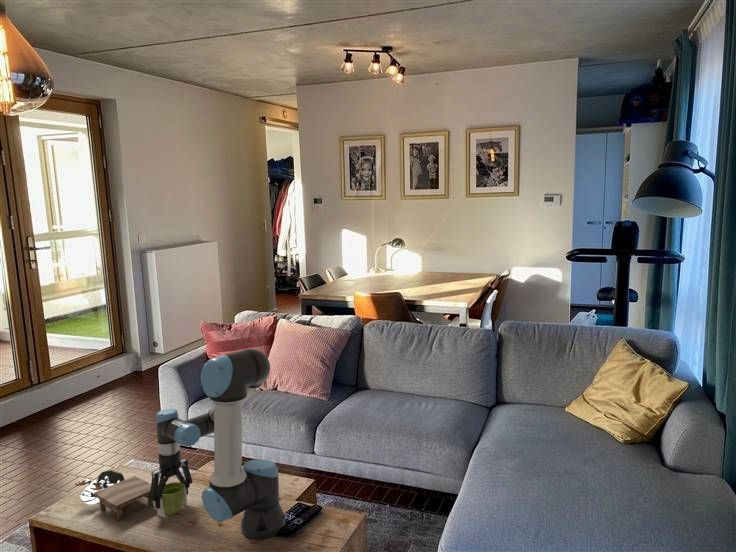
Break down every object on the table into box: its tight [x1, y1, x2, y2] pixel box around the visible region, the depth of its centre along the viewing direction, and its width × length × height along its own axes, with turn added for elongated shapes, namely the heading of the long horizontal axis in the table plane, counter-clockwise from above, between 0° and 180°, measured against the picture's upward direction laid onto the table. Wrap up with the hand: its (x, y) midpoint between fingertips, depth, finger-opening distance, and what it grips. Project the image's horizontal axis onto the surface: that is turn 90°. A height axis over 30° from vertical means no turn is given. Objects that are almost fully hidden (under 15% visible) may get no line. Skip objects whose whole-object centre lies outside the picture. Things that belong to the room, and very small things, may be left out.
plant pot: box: [161, 481, 185, 515], centre depth 198 cm, size 9×9×9 cm
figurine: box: [74, 469, 125, 505], centre depth 209 cm, size 14×10×18 cm
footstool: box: [94, 475, 154, 522], centre depth 200 cm, size 16×16×7 cm
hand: (172, 509), depth 198 cm, fingers open, 9 cm apart
